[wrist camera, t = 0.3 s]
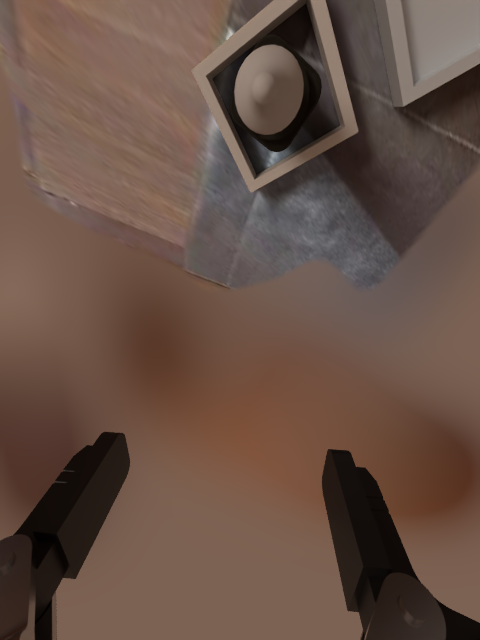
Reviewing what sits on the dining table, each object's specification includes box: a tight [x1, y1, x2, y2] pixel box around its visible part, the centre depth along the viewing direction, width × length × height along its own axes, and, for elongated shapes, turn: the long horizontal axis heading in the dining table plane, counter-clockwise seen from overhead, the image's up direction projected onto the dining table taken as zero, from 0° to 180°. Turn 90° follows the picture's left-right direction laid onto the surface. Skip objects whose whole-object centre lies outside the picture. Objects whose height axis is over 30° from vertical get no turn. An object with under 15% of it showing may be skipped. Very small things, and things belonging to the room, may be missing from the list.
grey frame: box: [191, 0, 358, 193], centre depth 27 cm, size 12×12×3 cm
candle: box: [230, 34, 322, 152], centre depth 18 cm, size 5×5×25 cm
